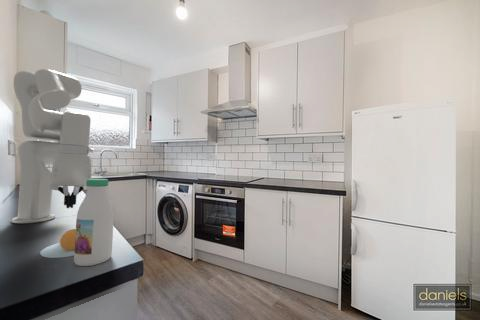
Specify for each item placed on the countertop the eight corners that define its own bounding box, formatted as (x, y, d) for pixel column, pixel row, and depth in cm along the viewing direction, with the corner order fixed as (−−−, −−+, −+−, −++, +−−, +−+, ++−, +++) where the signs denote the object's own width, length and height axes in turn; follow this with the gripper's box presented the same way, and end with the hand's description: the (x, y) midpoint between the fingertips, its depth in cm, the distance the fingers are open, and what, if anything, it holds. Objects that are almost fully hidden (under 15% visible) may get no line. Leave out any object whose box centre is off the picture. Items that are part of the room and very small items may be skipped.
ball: (58, 253, 57) (59, 232, 59) (84, 248, 61) (84, 229, 63) (60, 251, 54) (60, 229, 55) (86, 246, 57) (86, 226, 59)
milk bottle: (107, 251, 58) (111, 177, 59) (115, 260, 53) (119, 179, 53) (71, 258, 53) (76, 178, 53) (76, 270, 47) (81, 180, 48)
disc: (41, 245, 60) (41, 245, 60) (96, 236, 69) (96, 236, 69) (39, 262, 50) (39, 261, 50) (103, 249, 59) (103, 249, 59)
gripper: (99, 152, 77) (95, 203, 77) (43, 148, 67) (38, 206, 67) (103, 153, 71) (98, 207, 71) (42, 148, 62) (37, 212, 62)
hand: (69, 207), depth 69 cm, fingers closed
